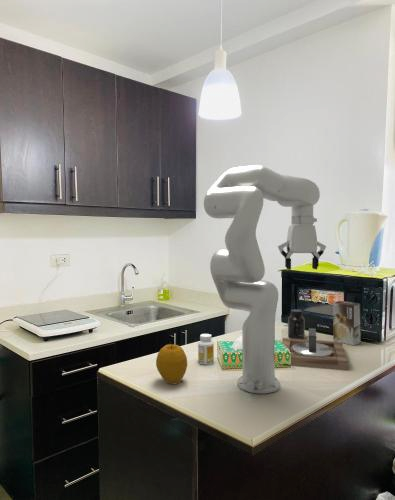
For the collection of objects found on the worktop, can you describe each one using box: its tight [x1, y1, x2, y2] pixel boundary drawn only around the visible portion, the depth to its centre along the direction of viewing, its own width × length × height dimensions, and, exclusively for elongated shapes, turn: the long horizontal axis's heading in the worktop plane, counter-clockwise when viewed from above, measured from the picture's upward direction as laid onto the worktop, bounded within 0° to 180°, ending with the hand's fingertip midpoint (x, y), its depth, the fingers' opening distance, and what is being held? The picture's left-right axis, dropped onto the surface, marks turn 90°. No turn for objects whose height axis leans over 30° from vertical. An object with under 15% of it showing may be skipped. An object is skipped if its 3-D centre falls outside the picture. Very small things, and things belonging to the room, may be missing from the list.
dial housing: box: [281, 337, 349, 371], centre depth 139 cm, size 22×22×3 cm
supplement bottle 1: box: [197, 333, 215, 366], centre depth 134 cm, size 5×5×10 cm
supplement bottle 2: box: [287, 308, 306, 339], centre depth 161 cm, size 7×7×12 cm
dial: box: [292, 327, 333, 357], centre depth 138 cm, size 14×14×8 cm
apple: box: [155, 343, 188, 384], centre depth 117 cm, size 10×10×12 cm
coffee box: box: [332, 300, 362, 346], centre depth 156 cm, size 9×6×16 cm
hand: (301, 269), depth 138 cm, fingers open, 9 cm apart
